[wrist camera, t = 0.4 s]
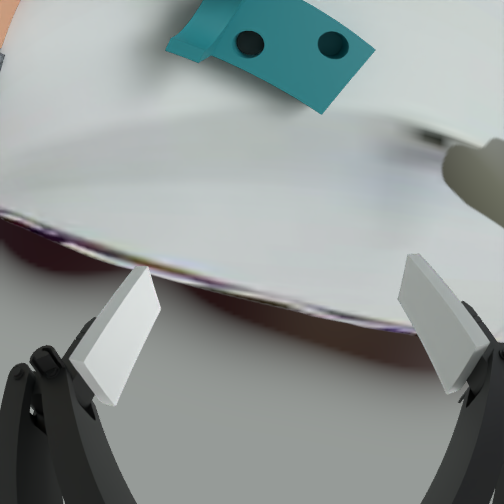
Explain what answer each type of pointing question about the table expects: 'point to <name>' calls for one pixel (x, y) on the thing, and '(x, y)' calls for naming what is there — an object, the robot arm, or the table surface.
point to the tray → (1, 59)
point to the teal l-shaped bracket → (278, 45)
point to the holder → (6, 16)
